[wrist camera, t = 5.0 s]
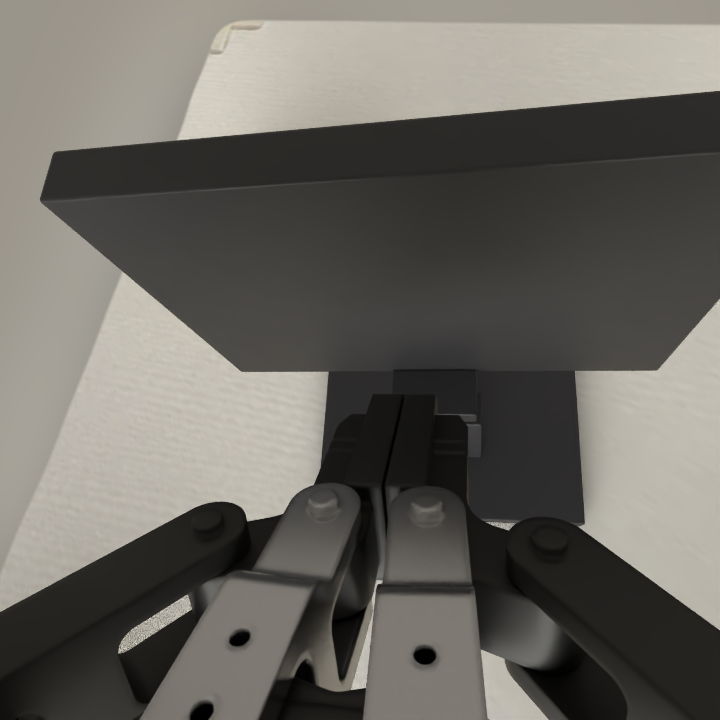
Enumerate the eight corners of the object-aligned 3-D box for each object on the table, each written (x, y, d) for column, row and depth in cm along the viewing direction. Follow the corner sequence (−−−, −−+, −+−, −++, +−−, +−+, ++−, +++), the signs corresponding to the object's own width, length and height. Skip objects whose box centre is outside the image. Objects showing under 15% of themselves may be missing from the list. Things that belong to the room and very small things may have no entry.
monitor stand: (580, 526, 28) (617, 509, 21) (322, 514, 31) (272, 495, 23) (568, 335, 31) (596, 263, 24) (336, 339, 34) (297, 274, 27)
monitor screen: (657, 424, 21) (885, 234, 9) (241, 418, 24) (15, 272, 12) (648, 339, 22) (840, 73, 10) (251, 345, 25) (53, 146, 13)
